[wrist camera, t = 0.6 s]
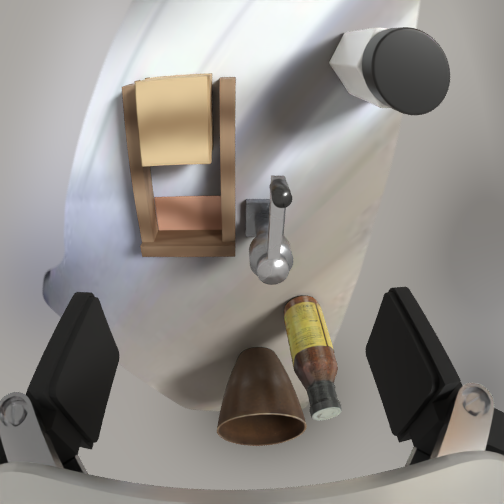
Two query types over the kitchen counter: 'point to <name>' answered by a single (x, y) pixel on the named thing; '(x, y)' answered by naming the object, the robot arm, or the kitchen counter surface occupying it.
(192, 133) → the tan wooden block
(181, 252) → the bay
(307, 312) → the sauce bottle
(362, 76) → the jar
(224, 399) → the plant pot
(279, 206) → the crank
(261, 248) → the winch post
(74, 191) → the kitchen counter surface
